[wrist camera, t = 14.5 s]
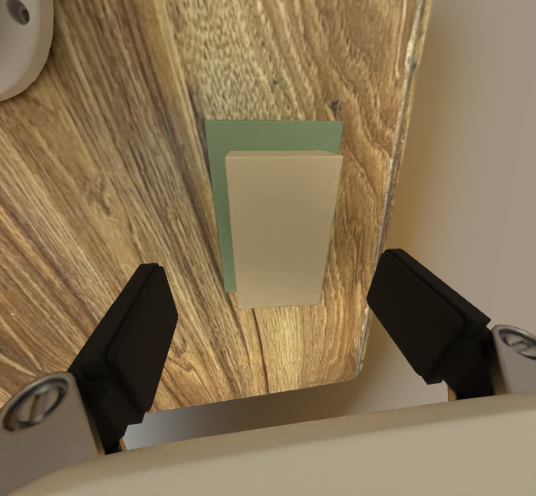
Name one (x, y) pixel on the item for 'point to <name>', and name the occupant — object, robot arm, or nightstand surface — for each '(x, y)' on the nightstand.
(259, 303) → the tan cardboard box
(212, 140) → the mat
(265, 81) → the nightstand surface
